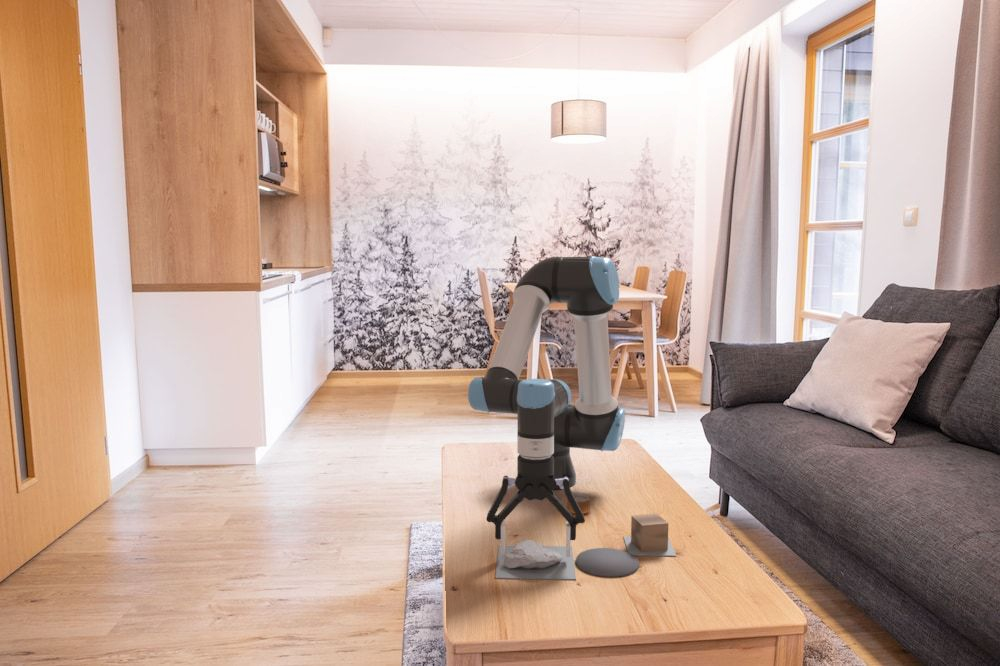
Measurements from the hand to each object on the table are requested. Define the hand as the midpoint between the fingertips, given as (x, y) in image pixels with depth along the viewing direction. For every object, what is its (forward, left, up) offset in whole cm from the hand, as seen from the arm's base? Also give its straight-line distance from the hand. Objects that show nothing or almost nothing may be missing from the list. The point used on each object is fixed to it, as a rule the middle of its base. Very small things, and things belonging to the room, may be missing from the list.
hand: (535, 554), depth 154 cm
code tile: (0, 0, -2) cm, 2 cm away
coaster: (0, +15, -2) cm, 15 cm away
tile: (-9, +25, -2) cm, 27 cm away
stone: (0, 0, -2) cm, 2 cm away
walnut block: (-9, +25, -2) cm, 27 cm away
